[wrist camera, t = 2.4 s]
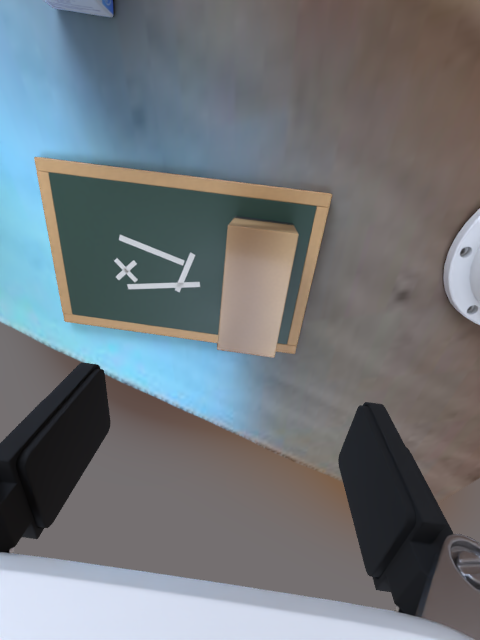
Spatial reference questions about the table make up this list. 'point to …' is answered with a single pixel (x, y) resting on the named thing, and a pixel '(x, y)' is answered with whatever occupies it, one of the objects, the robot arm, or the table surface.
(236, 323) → the eraser
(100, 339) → the table surface
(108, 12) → the medicine box
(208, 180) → the slate
